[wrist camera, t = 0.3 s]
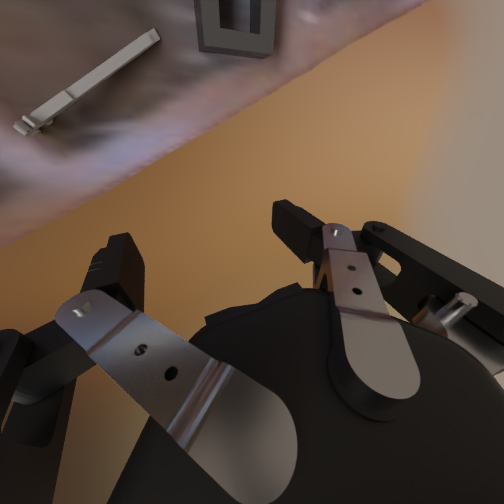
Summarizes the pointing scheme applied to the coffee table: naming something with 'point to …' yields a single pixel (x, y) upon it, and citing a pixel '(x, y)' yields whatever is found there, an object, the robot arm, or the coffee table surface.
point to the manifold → (234, 41)
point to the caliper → (84, 85)
